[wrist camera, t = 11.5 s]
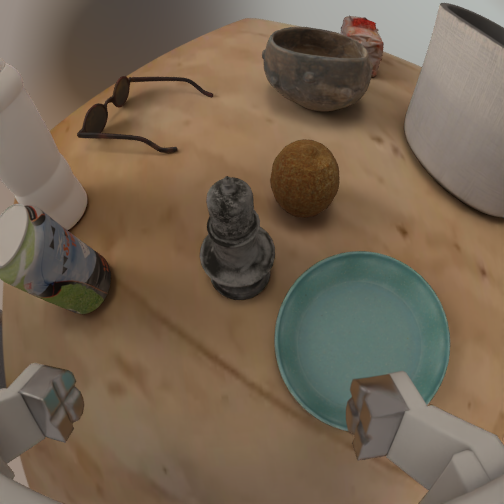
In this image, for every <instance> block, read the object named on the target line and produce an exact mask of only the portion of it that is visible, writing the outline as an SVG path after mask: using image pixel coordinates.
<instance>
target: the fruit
mask: <svg viewBox="0 0 504 504" xmlns="http://www.w3.org/2000/svg"><path fill="white" fill-rule="evenodd" d="M270 182H271V188H272V191H273V193H274V196H275V198H276V201H277V202H278V203H279V205H280V206H281V207H282V208H283V209H284V210H285V211H286V212H287V213H289V214H292V215H294V216H296V217H304V218H306V217H311V216H315V215H317V214H319V213H320V212H322V211H323V210H325V209H326V208H328V206H329V205H330V204H331V203H332V201H333V199H334V197H335V195H336V193H337V191H338V189H339V167H338V164H337V162H336V159H335V158H334V156H333V154H332V153H331V151H330V150H329V149H328V148H326V147H325V146H324V145H323V144H321V143H319V142H316V141H313V140H298V141H295V142H293V143H291V144H289V145H287V146H286V147H285V148H284V149H283V150H282V151H281V152H280V153H279V155H278V156H277V157H276V159H275V161H274V163H273V167H272V173H271V179H270Z"/></svg>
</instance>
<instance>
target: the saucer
mask: <svg viewBox="0 0 504 504" xmlns="http://www.w3.org/2000/svg"><path fill="white" fill-rule="evenodd" d="M275 354H276V360H277V364H278V367H279V370H280V373H281V376H282V378H283V380H284V382H285V384H286V386H287V388H288V390H289V391H290V393H291V394H292V396H293V397H294V398H295V400H296V401H297V402H298V403H299V404H300V405H301V406H302V407H303V408H304V409H305V410H306V411H307V412H308V413H310V414H311V415H312V416H314V417H315V418H317V419H318V420H320V421H322V422H324V423H326V424H328V425H330V426H333V427H335V428H338V429H341V430H345V431H348V428H347V424H346V406H347V401H348V400H349V399H350V398H351V397H352V395H351V392H350V386H351V382H352V380H353V379H355V378H362V377H370V376H377V375H383V374H387V373H393V372H398V371H404V372H406V373H407V375H408V376H409V378H410V379H411V381H412V382H413V384H414V385H415V387H416V389H417V390H418V392H419V393H420V395H421V396H422V398H423V400H424V401H425V403H426V404H428V403H429V402H430V401H431V399H432V398H433V397H434V395H435V394H436V392H437V391H438V389H439V387H440V385H441V383H442V381H443V378H444V376H445V374H446V370H447V366H448V362H449V356H450V333H449V327H448V321H447V318H446V314H445V312H444V310H443V307H442V304H441V302H440V300H439V299H438V297H437V295H436V293H435V292H434V290H433V289H432V288H431V286H430V285H429V284H428V283H427V282H426V281H425V280H424V279H423V277H422V276H421V275H419V274H418V273H417V272H416V271H415V270H413V269H412V268H411V267H409V266H408V265H406V264H404V263H402V262H401V261H399V260H396V259H395V258H392V257H390V256H387V255H383V254H379V253H374V252H366V251H355V252H346V253H340V254H337V255H333V256H330V257H328V258H326V259H324V260H321V261H319V262H318V263H316V264H314V265H313V266H312V267H310V268H309V269H308V270H306V271H305V272H304V273H303V274H302V275H301V276H300V277H299V278H298V279H297V280H296V281H295V283H294V284H293V285H292V286H291V288H290V289H289V291H288V293H287V294H286V296H285V298H284V300H283V302H282V305H281V307H280V310H279V313H278V317H277V321H276V326H275Z"/></svg>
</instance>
